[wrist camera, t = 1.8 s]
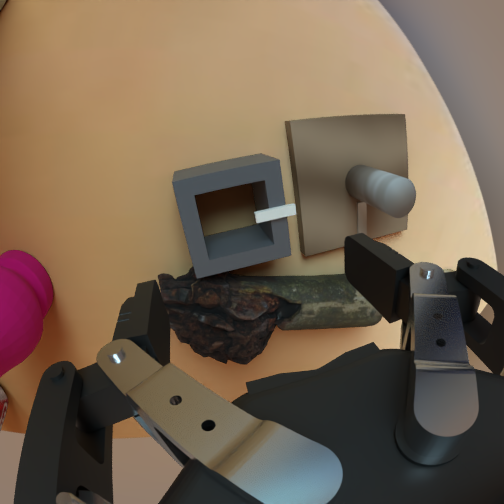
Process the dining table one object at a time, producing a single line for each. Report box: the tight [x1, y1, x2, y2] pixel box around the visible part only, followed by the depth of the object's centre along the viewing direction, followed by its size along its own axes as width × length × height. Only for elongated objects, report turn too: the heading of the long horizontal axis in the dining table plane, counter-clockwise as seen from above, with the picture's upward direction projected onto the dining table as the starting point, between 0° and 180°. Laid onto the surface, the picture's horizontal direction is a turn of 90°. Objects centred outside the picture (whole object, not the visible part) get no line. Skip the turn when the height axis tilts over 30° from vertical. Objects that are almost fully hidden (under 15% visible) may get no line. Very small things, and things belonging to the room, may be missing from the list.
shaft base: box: [285, 114, 416, 257], centre depth 19 cm, size 10×10×6 cm
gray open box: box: [172, 153, 296, 279], centre depth 19 cm, size 6×6×4 cm
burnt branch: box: [158, 267, 382, 364], centre depth 22 cm, size 18×7×6 cm, turn 81°
